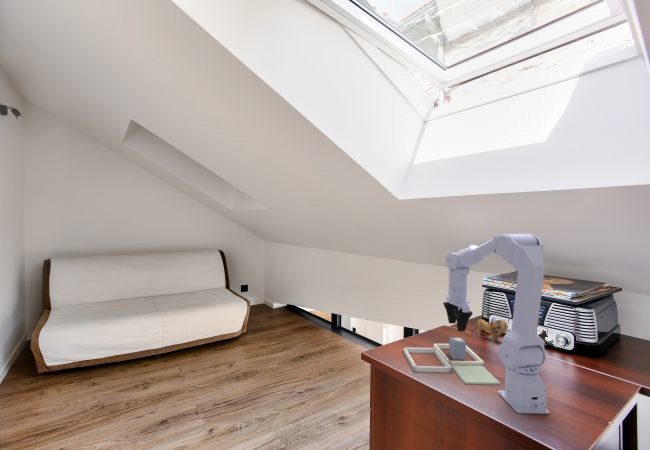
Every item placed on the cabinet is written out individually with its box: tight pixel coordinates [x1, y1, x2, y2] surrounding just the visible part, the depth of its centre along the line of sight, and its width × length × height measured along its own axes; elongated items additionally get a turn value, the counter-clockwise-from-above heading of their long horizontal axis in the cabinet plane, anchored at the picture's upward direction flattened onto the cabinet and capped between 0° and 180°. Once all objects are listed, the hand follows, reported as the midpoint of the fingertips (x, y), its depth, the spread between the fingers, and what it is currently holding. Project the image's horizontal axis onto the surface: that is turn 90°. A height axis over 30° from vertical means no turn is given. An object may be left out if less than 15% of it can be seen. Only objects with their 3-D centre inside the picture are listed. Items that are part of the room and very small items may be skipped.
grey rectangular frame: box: [402, 347, 453, 374], centre depth 105 cm, size 15×12×2 cm
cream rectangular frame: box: [432, 343, 485, 368], centre depth 109 cm, size 15×12×2 cm
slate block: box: [448, 336, 467, 361], centre depth 109 cm, size 4×4×6 cm
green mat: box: [452, 366, 501, 386], centre depth 96 cm, size 10×10×1 cm
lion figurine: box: [470, 319, 509, 344], centre depth 126 cm, size 15×5×9 cm, turn 34°
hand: (456, 326), depth 109 cm, fingers open, 7 cm apart
